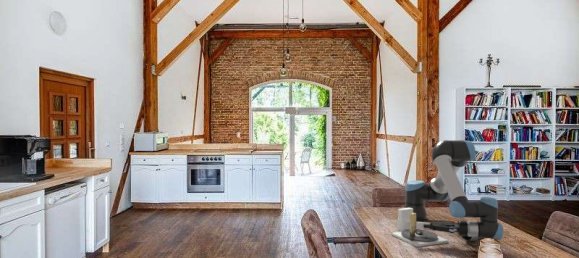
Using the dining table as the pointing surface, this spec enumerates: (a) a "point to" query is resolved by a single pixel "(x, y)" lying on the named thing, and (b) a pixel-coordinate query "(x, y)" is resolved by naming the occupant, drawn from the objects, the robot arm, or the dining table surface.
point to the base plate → (419, 243)
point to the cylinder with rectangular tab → (404, 218)
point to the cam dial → (418, 231)
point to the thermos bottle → (471, 237)
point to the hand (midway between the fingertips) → (416, 224)
